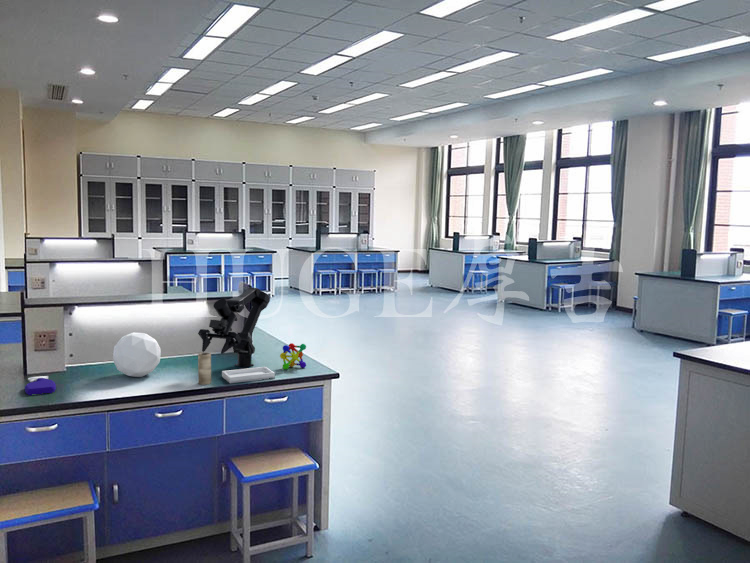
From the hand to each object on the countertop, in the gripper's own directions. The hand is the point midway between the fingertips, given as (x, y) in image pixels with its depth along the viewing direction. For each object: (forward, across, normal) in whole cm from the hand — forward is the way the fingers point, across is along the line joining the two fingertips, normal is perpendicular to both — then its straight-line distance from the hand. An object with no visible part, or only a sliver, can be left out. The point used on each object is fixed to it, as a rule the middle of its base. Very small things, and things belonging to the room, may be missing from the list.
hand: (212, 352), depth 263 cm
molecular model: (-15, +23, +32) cm, 42 cm away
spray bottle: (+34, -57, -16) cm, 69 cm away
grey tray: (+2, +12, +15) cm, 19 cm away
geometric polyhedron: (+13, -33, +4) cm, 36 cm away
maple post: (+12, 0, +4) cm, 13 cm away
